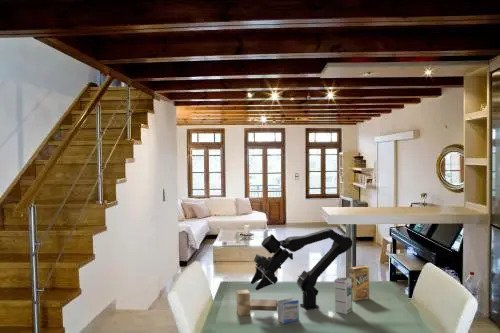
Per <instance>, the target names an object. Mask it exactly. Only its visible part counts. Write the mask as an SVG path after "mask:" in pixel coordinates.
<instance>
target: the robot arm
mask: <svg viewBox="0 0 500 333" xmlns="http://www.w3.org/2000/svg"><path fill="white" fill-rule="evenodd" d="M328 239H330V240H332V241H333V242H332V245H331V247H330V248H329V250H327V252H326V253H325V254H324V255H323V257H321V259H319V261H318V262H317V263H316V264H315V265H314V266H313V267H312V268H311V269H310V270H309V271H306V270H303V271H302V272H301V274H300V275H298V276H297V277H298V278H297V280H296V284H297V286H298V288H300V290H301V292H302V303H300V304H299V306H301V307H302V308H303V309H306V310H312V309H317V308H320V306H319V305H318V304H317V296H318V294H319V290H318V289H317V288H316V287H315V286H316V285H317V282H318V279H319V277H320V276H321V275H322V274H323V273H324V272H325V271H326V270H327V268H328V267H329V266H331V264H333V262H334V261H335V260H336V259H337V258H338V256H340V255H342V254H344V253H346V252H347V251H348V250H350V249H351V248H352V247H353V240H352V239H351V238H350V237H349V236H347V235H344V234H340V233H338V232H336V231H335V230H334V229H332V228H327V227H326V228H325V229H322V230H321V229H320V230H318V231H315V232H312V233H309V234H305V235H301V236H299V235H295V236H294V235H293V236H288V237H286V238H285V239H283V240H278V239H277V238H276V237H275V235H274V234H272V233H271V234H270V235H268V236H267V237H265V238H264V239H263V240H262V241H261V243H260V244H261V246H262V247H263V248H264V249H265V251H267V252H268V253H269V254H273V255H272V256H268V257H267V256H264V255H260V254H256V255H255V257H254V259H253V262H254V263H256V264H255V273H254V274H253V277H252V279H251V281H250V284H251V285H254V284H255V283H257V282H258V284H257V285H256V286H255V288H254V289H255V290H256V291H258V290H261V289H263V288H266V287H268V286H271V285H276V283H277V282H278V280H279V278H278V277H277V276H276V272H277V270H281V269H282V267H281V266H282V265H283V264H284V263H286V261H287V260H288V259H290V260H291V261H293V260H294V254H293V253H296V252H297V251H300V250H302V249H303V248H304V247H306V246H307V245H311V244H315V243H318V242H321V241H324V240H328Z"/></svg>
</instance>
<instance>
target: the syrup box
mask: <svg viewBox="0 0 500 333" xmlns="http://www.w3.org/2000/svg"><path fill="white" fill-rule="evenodd" d="M333 280H334V281H333V283H334V309H335V310H334V311H335V313H339V314H345V315H348V314H349V313H351V312H352V311H353V300H352V281H351V278H349V277H345V276H339V277H337V278H336V279H333Z"/></svg>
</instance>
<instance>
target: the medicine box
mask: <svg viewBox="0 0 500 333" xmlns="http://www.w3.org/2000/svg"><path fill="white" fill-rule="evenodd" d="M299 306H300V304H299V299H297V298H295V297H291V298H285V299H280V300H277V321H278V322H280V323H281V324H284V325H285V323H286V324H289V323H294V322H297V321H299V320H300V315H299V314H300V313H299V312H300V311H299V309H300V307H299Z"/></svg>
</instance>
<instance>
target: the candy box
mask: <svg viewBox="0 0 500 333" xmlns="http://www.w3.org/2000/svg"><path fill="white" fill-rule="evenodd" d="M348 276H349V277H348V278H351V281H352V301H354V302H355V301H361V300H368V299H370V266H367V265H364V264H363V265H355V266H350V267H348Z"/></svg>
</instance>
